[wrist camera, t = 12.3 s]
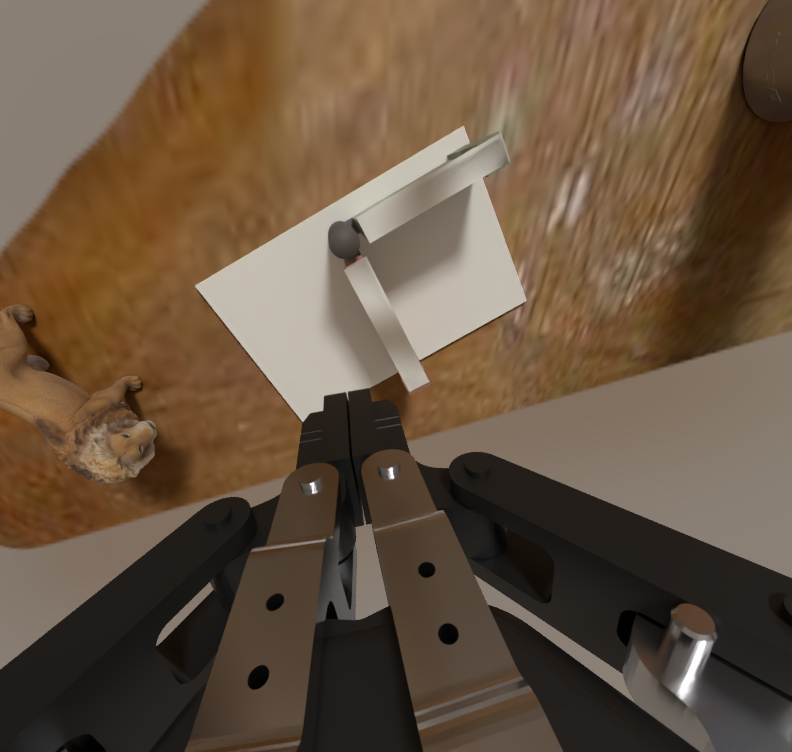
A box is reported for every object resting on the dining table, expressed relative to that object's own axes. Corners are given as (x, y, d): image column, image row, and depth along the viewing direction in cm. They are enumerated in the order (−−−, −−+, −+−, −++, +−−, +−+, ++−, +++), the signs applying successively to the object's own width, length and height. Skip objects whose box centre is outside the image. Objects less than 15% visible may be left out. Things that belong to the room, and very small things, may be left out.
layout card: (461, 126, 26) (464, 125, 26) (524, 299, 33) (527, 300, 32) (196, 284, 28) (194, 286, 27) (304, 422, 34) (304, 425, 34)
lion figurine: (197, 390, 31) (153, 456, 23) (167, 437, 32) (114, 515, 24) (-13, 282, 26) (-168, 320, 18) (-40, 343, 27) (-197, 404, 19)
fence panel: (338, 257, 28) (341, 269, 23) (360, 245, 28) (367, 255, 23) (397, 366, 32) (410, 395, 27) (416, 356, 32) (432, 384, 27)
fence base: (465, 144, 27) (504, 128, 21) (475, 170, 27) (514, 162, 22) (323, 229, 27) (322, 236, 22) (336, 251, 28) (339, 264, 22)
